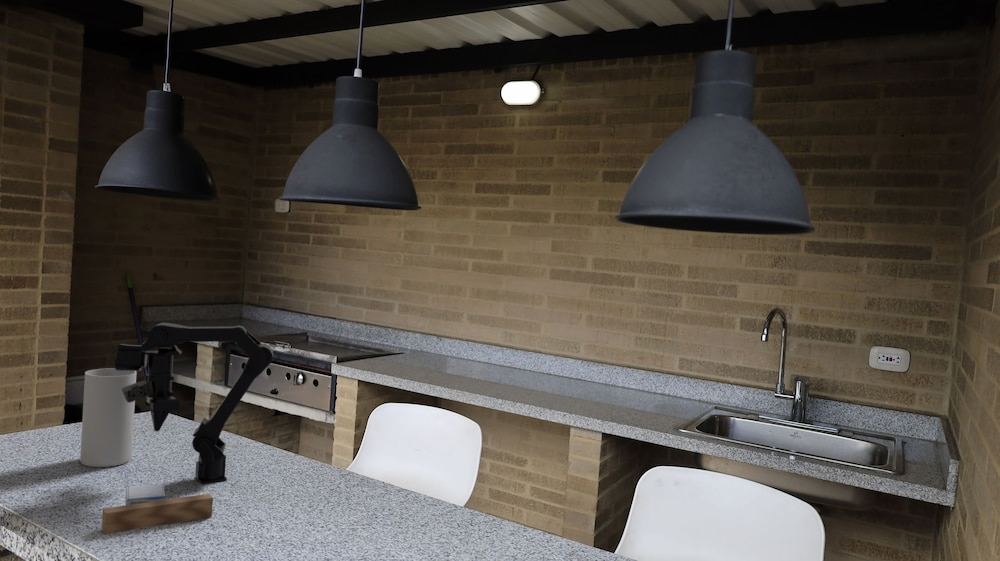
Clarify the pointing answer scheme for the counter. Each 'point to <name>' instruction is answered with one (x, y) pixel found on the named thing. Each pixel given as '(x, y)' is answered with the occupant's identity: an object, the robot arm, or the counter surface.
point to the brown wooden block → (156, 513)
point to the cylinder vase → (107, 418)
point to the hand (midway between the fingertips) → (156, 430)
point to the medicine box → (144, 494)
